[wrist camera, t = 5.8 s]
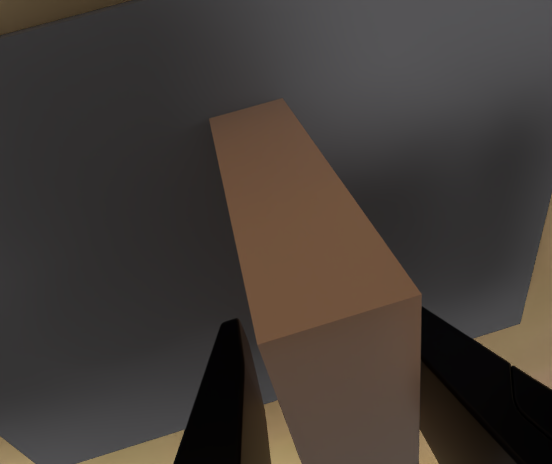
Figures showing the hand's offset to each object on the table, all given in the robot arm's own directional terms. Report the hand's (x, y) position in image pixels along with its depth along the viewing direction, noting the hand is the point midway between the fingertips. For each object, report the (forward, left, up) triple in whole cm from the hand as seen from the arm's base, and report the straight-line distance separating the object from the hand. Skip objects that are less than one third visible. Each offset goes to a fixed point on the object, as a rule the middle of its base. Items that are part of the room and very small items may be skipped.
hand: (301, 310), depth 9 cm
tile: (0, 0, -2) cm, 2 cm away
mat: (+1, 0, -3) cm, 3 cm away
